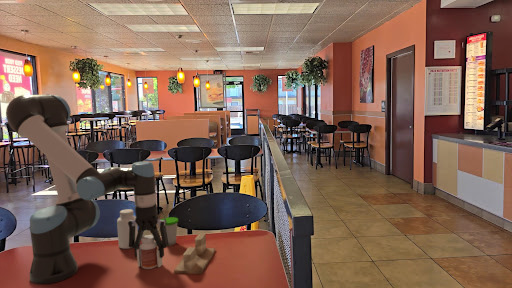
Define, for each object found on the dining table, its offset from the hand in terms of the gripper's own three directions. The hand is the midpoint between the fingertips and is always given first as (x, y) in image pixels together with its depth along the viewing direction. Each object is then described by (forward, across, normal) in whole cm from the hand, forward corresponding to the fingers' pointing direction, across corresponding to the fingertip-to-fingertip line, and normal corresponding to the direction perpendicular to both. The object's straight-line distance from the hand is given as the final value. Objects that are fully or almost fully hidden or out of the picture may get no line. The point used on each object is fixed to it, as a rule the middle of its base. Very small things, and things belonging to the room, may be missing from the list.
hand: (150, 265), depth 142 cm
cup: (0, 0, +21) cm, 21 cm away
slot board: (0, +16, +5) cm, 17 cm away
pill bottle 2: (0, 0, 0) cm, 0 cm away
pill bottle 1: (0, -17, +18) cm, 25 cm away
